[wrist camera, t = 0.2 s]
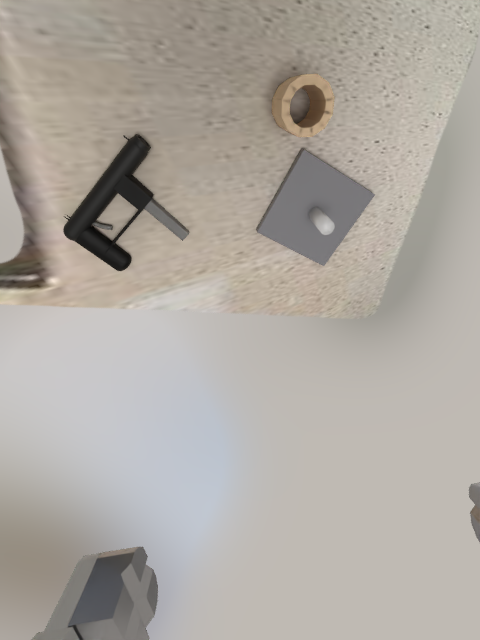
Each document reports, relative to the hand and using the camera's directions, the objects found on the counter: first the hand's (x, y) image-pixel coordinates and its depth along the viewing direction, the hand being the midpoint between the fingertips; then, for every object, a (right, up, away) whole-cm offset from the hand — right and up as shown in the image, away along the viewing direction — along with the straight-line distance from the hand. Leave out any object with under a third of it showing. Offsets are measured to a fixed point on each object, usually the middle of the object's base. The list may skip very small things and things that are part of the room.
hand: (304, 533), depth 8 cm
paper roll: (+6, +36, +38) cm, 53 cm away
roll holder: (+11, +24, +47) cm, 54 cm away
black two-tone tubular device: (-19, +23, +46) cm, 55 cm away
